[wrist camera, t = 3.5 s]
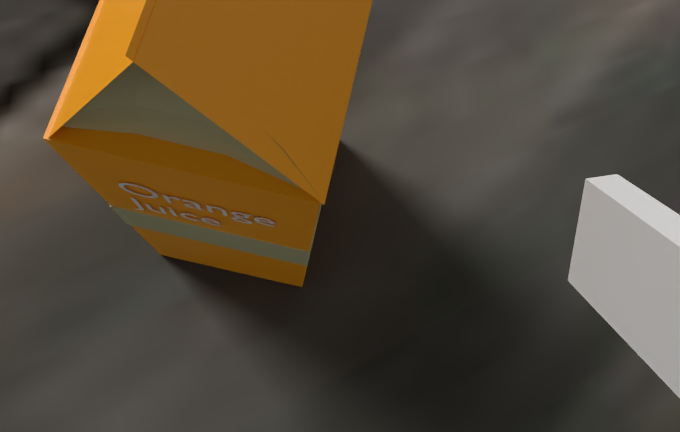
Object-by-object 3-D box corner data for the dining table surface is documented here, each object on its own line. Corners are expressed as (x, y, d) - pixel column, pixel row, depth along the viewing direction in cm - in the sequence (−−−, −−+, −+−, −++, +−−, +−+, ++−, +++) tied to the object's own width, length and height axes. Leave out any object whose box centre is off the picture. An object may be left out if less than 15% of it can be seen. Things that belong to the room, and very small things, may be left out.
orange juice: (157, 255, 28) (-103, 6, 9) (205, 105, 31) (79, -331, 12) (306, 289, 29) (348, 115, 10) (341, 137, 31) (430, -238, 12)
